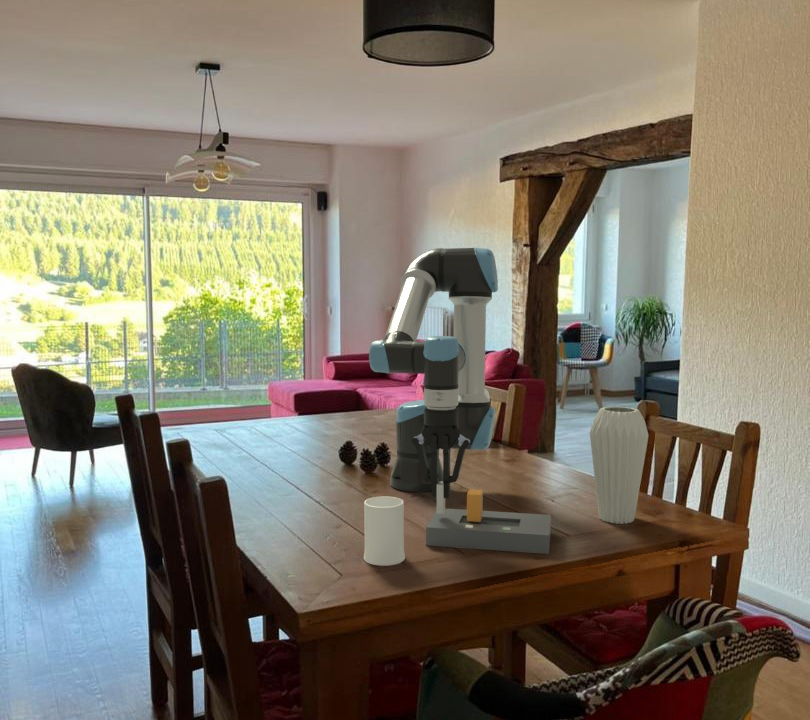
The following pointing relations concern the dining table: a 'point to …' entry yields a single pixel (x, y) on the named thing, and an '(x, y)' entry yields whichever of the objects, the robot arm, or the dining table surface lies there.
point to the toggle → (474, 505)
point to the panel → (490, 531)
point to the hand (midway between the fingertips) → (440, 511)
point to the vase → (618, 461)
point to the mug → (384, 530)
